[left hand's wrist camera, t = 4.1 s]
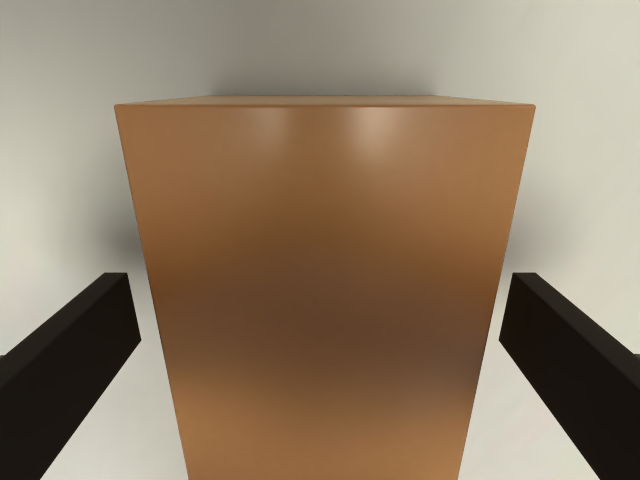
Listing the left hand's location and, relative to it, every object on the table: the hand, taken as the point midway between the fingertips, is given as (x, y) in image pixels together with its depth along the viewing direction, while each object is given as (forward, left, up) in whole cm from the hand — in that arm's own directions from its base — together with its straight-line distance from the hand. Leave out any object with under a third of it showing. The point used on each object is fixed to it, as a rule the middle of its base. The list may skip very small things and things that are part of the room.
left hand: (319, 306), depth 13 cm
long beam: (+25, -5, -4) cm, 26 cm away
